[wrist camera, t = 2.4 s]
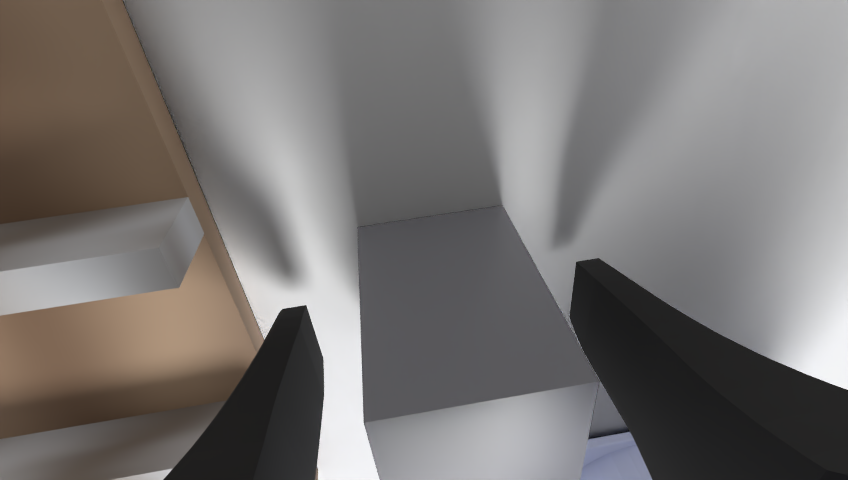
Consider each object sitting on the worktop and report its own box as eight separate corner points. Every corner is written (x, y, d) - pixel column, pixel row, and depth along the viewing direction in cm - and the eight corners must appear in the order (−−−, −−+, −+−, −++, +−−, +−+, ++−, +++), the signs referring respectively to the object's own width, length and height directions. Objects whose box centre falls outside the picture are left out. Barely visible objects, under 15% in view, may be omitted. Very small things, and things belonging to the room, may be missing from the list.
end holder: (93, -69, 8) (-5, -67, 6) (317, 469, 18) (313, 547, 16) (-465, -9, 8) (-811, 20, 5) (86, 512, 18) (47, 598, 16)
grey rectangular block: (502, 205, 13) (599, 381, 8) (501, 311, 15) (576, 498, 10) (357, 227, 12) (363, 423, 8) (379, 331, 15) (394, 533, 10)
